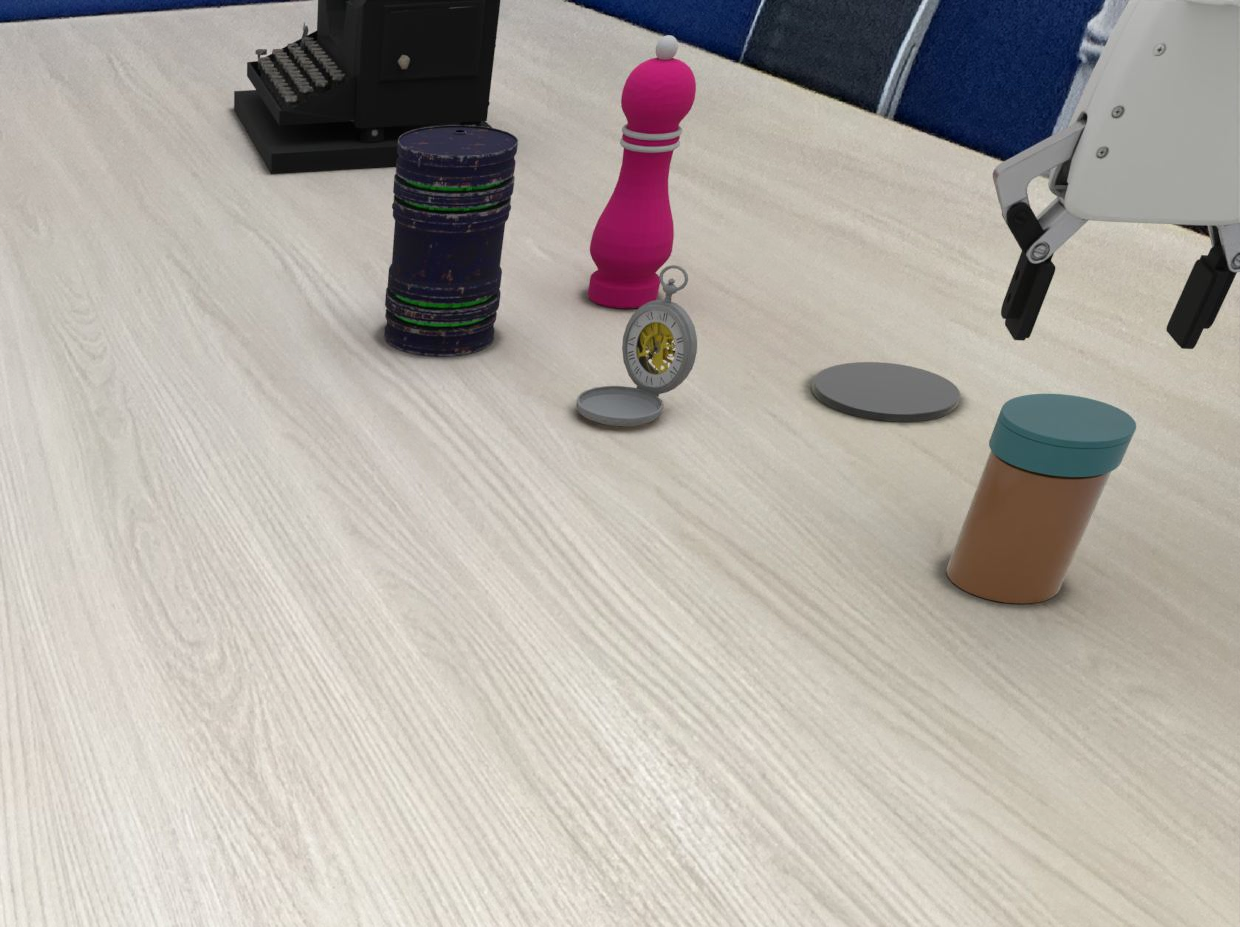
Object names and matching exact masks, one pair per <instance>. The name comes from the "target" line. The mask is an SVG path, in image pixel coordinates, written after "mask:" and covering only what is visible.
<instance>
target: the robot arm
mask: <svg viewBox="0 0 1240 927" xmlns="http://www.w3.org/2000/svg"><path fill="white" fill-rule="evenodd" d="M1049 171H1050V172H1049ZM1047 172H1049V176H1048V182H1047V185H1048V189H1049V191H1050V192H1051V194H1053V196H1056V197H1055V199H1053V200H1052V201H1050V203H1049V204H1048V205H1047V206H1046V207H1045V208H1044V209H1043V210H1042V211H1041V212H1040V213H1038V214H1037V215H1036V214H1035V213H1034V211H1033V210H1032V208H1031V205H1030V204H1031V203H1030V200H1029V194H1028V187H1029V184H1030V183H1031V182H1032V180H1035V178H1038V177H1039V176H1041V175H1043V174H1045V173H1047ZM992 181H993V184H994V188H995V191H996V196H997V199H998V203H999V206H1000V211H1001V216H1002V219H1003V220H1004V222H1005V224H1006V226H1007V228H1008V229H1009V230H1010V232H1011V234H1012V236H1013V238H1014V240H1015V241H1016V243H1017V245H1018V247H1019V248H1020V250H1021V252H1020V254H1019V258H1018V260H1017V263H1016V266H1015V269H1014V271H1013V274H1012V276H1011V277H1012V278H1011V280H1010V282H1009V286H1008V287H1007V291H1006V293H1005V296H1004V298H1003V302H1002V305H1001V307H1000V308H1001V309H1000V316H1001V318H1002V319H1004V326H1005V328H1006V329H1007V331H1008V332H1009V334H1010V336H1011V337H1012V339H1013V340H1014V341H1023V342H1024V341H1026V339H1029V338H1030V337H1031V335H1032V332H1033V331H1034V328H1035V325H1036V323H1037V320H1038V317H1039V315H1040V312H1041V309H1042V307H1043V305H1044V301H1045V299H1046V296H1047V294H1048V291H1049V288H1050V285H1051V283H1052V281H1053V278H1054V275H1055V272H1056V265H1055V264H1054V263H1053V261H1052V259H1053V257H1054V254H1055V253H1056V252H1057V251H1058V250H1059V248H1061V247H1062V246H1063V245H1064V244H1065V243H1066V242H1068V241H1069V239H1070V238H1072V237H1073V236H1074V235H1075V234H1076V233H1077V232H1079V230H1080V229H1081V228H1082V227H1083V226H1084V225H1086V224H1087V222H1089V221H1093V222H1107V223H1109V222H1110V223H1131V224H1153V225H1178V226H1179V225H1180V226H1183V225H1184V226H1207V230H1208V236H1209V240H1210V244H1211V248H1210V249H1209V251H1208V253H1207V254H1201V255H1200V257H1199V259H1196V261H1195V262H1194V264H1193V266H1192V269H1191V270H1190V273H1189V276H1188V277H1187V280H1186V282H1185V285H1184V286H1183V289H1182V290H1181V293H1180V295H1179V298H1178V299H1177V302H1176V304H1175V306H1174V309H1173V311H1172V314H1171V315H1170V318H1169V320H1168V323H1167V325H1166V328H1165V329H1166V333H1167V334H1168V335H1169V336H1170V337H1171V338H1172V339H1173V341H1174V342H1175V344H1177V346H1178V347H1180V349H1182V350H1193V349H1195V348H1196V346H1197V344H1198V343H1199V342H1198V341H1199V339H1200V338H1201V335H1202V333H1203V331H1204V329H1205V330H1208V329H1210V328H1211V327H1212V326H1213V324H1214V322H1215V321H1216V319H1217V317H1218V315H1219V312H1220V310H1221V308H1222V306H1223V304H1224V302H1225V299H1226V297H1227V295H1228V294H1229V291H1230V288H1231V286H1232V285H1233V282H1234V280H1235V278H1236V276H1237V274H1238V273H1240V0H1128V2H1127V4H1126V6H1125V7H1124V8H1123V11H1122V13H1121V14H1120V16H1119V18H1118V20H1117V22H1116V24H1115V26H1114V27H1113V30H1112V31H1111V33H1110V35H1109V37H1108V39H1107V41H1106V43H1105V46H1104V48H1103V50H1102V51H1101V54H1100V56H1099V58H1098V60H1097V62H1096V63H1095V66H1094V68H1093V70H1092V72H1091V75H1090V77H1089V79H1088V81H1087V83H1086V85H1085V87H1084V90H1083V92H1082V94H1081V96H1080V98H1079V101H1078V103H1077V105H1076V108H1075V109H1074V112H1073V114H1072V117H1071V119H1070V121H1069V123H1068V125H1067V127H1065V128H1064V129H1062V130H1060V131H1058V132H1056V133H1054V134H1052V135H1051V136H1049V137H1047V138H1045V139H1043V140H1041V141H1039V142H1037V143H1036V144H1033V145H1032V146H1030V147H1028V148H1026V149H1024V150H1022V151H1021V152H1019V153H1017V154H1015V155H1014V156H1012V157H1011V156H1010V158H1008V159H1006V160H1004V161H1002V162H1000V163H999V164H997V165H996V166H995V168H994V169H993V171H992Z"/></svg>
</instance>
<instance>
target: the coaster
mask: <svg viewBox="0 0 1240 927" xmlns="http://www.w3.org/2000/svg"><path fill="white" fill-rule="evenodd" d="M811 384H812V385H811V391H812V394H813V396H814V397H815V398H816V399H817V400H818V401H820V403H822V404H824V405H825V406H827V407H829V408H831V409H833V410H835V411H838V412H842V413H843V414H846V415H851V416H855V417H859V418H863V419H869V420H876V421H883V422H898V423H899V422H900V423H901V422H902V423H903V422H909V423H910V422H919V421H920V422H921V421H928V420H934V419H938V418H942V417H944V416H946V415H949V414H950V413H952V412H953V411H954V410H955V409H956V408H957V407H958V405H959V401H960V399H961V393H960V392H961V391H960V389H959V388H958V386H956V385H955V383H953V382H952V381H950V380H949V379H947V378H945V377H944V376H941V375H939V374H936V373H935V372H932V371H929V370H926V369H924V368H923V369H922V368H919V367H916V366H910V365H905V364H900V363H899V364H898V363H893V362H892V363H891V362H880V361H858V362H848V363H840V364H836V365H832V366H829V367H826V368H824V369H822V370H820V371H819V372H818V373H816V375H815V376H814V378H813V381H812V383H811Z"/></svg>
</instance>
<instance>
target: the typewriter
mask: <svg viewBox="0 0 1240 927" xmlns="http://www.w3.org/2000/svg"><path fill="white" fill-rule="evenodd" d="M500 9H501V0H317V20H316V30H315V31H313V32H311V33H309V27H308V25H306V23H305V22H303V26H302V31H303V32H302V35H301V38H299V39H297V40H295V41H294V42H291V43H290V42H289V43H287V44H286V46H284V47H282V48H272V52H271V53H270V54H269V55H267V54H268V48H258V49H256V50H255V52H254V54H255V55H257V60H255V61H247V62H246V77H247V78H248V80H249V82H251V84H252V86H253V87H254V89H248V90H247V89H245V90H234V91H233V110H234V112H235V113H236V115H237V117H238V119H239V120H240V122H241V124H242V126H243V128H244V129H245V131H246V133H247V134H248V136H249V137H250V140H251V142H252V143H253V146H254V147H255V148H256V150H257V152H258V154H259V155H260V157H261V159H262V161H263V162H264V164H265V166H266V168H267V170H268V171H269V173H270V174H271V175H274V174H277V175H278V174H291V173H309V172H324V171H340V170H341V171H342V170H356V169H374V168H388V167H389V168H390V167H396V161H397V158H398V157H399V154H398V153H397V147H398V138H399V137H400V136H401V135H402V134H404V133H406V132H409V131H412V130H416V129H420V128H425V127H432V126H443V125H470V126H482V127H489V128H493V127H492V126H491V125H490V124H489V123H488V122H487V121H488V114H489V106H490V104H491V102H490V96H491V88H492V87H491V86H492V78H493V70H494V62H495V53H496V47H497V35H498V28H499V27H498V25H499V17H500ZM265 55H266V56H265ZM261 56H264V57H261Z"/></svg>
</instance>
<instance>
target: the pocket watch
mask: <svg viewBox="0 0 1240 927" xmlns="http://www.w3.org/2000/svg"><path fill="white" fill-rule="evenodd" d="M671 269H675V270H676V269H677V270H679V271H680V272H681V273H682V275H683V276H684V281H683V283H682V284H681V285H680V286H678V287H677V285H676V284H675V283H676V280H675V279H674V278H670V279H668V280H667V283H665V281H664V274H665V273H666V272H667V271H668V270H671ZM658 276H659V279H660V285H661V287H662V291H663V292H664V293H665V295H664V299H656V301H651V302H648V303H646V304H644V305H643V306H641V307H639V308H637V309H636V311H634V312H632V314H631V316H630V318H629V320H628V322H627V323H626V326H625V330H624V332H623V337H622V346H621V350H622V351H621V352H622V359H623V361H622V362H623V364H624V366H625V369H626V373H627V374H628V376H629V378H630V380H631V381H632V382H633V384H634V385H635V386H636V387H632V386H624V385H604V386H597V387H592V388H589V389H586V390H583V391H582V392H580V393H579V395H577V398H576V402H575V407H576V409H577V411H578V412H579V414H580V415H581V416H582V417H584V418H585V419H588V420H590V421H592V422H596V423H599V424H602V425H606V426H616V427H632V426H633V427H634V426H639V425H640V426H641V425H645V424H649V423H652V422H653V421H655V420H657V419H659V417H661V414H662V413H663V411H664V401H663V400H662V399H661V398H660V395H662V394H666V393H669V392H671V391H674V390H675V389H676V388H678V387H679V386H681V385H682V383H683V382H684V381H685V380H686V379H687V378H688V376H689V375H690V373H691V371H692V370H693V368H694V365H695V362H696V358H697V354H698V335H697V332H696V327H695V325H694V322H693V320H692V318H691V316H690V315H689V313H688V312H687V311H686V310H685V309H684V308H683V307H682V306H681V305H679V304H678V303H676V302H674V301H672V297H673V295H675V294H676V293H677V292H678V291H681V290H683V289H685V287H686V286H687V285H688V282H689V274H688V273H687V271H686V269H685V268H683V267H682V266H680V265H678V264H677V265H675V264H672V265H667V266H665V267H664V268H662V270H661V271H660V273H659V275H658ZM674 349H675V350H674ZM646 351H648V352H646ZM670 358H673V360H672V359H670ZM649 360H651V363H650V361H649ZM664 361H665V362H664ZM668 363H669V365H668ZM661 367H664V368H661Z"/></svg>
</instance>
